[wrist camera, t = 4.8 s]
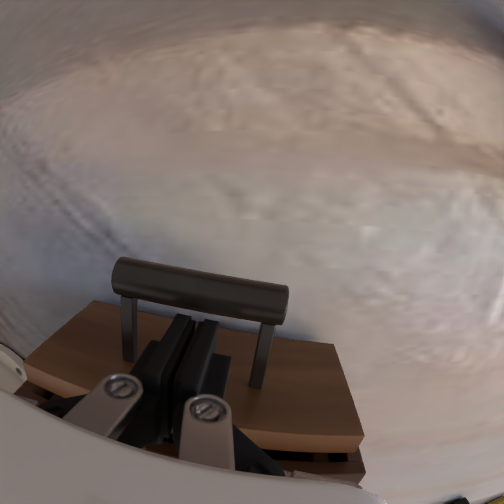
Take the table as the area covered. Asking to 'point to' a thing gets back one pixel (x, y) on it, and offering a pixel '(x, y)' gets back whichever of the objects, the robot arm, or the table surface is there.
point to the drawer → (228, 343)
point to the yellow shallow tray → (497, 501)
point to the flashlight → (461, 501)
